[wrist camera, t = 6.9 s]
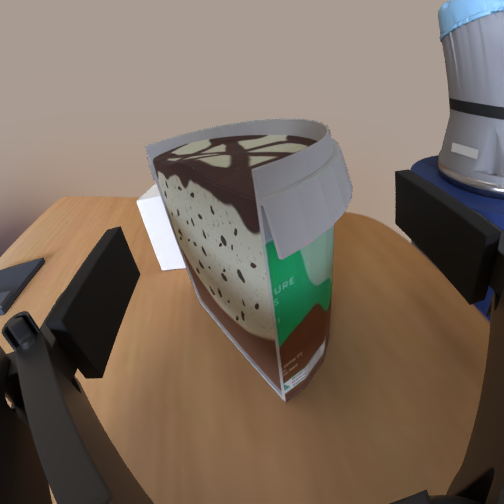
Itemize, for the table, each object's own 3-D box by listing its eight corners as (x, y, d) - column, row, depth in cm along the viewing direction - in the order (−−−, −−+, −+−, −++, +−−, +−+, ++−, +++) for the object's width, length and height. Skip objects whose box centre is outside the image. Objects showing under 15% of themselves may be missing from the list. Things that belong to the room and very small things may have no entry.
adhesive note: (183, 234, 29) (165, 174, 26) (245, 226, 28) (230, 161, 25) (161, 270, 24) (136, 200, 21) (235, 263, 23) (215, 185, 20)
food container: (404, 344, 13) (422, 126, 8) (306, 424, 11) (267, 172, 6) (266, 254, 23) (238, 117, 18) (191, 291, 21) (142, 145, 16)
